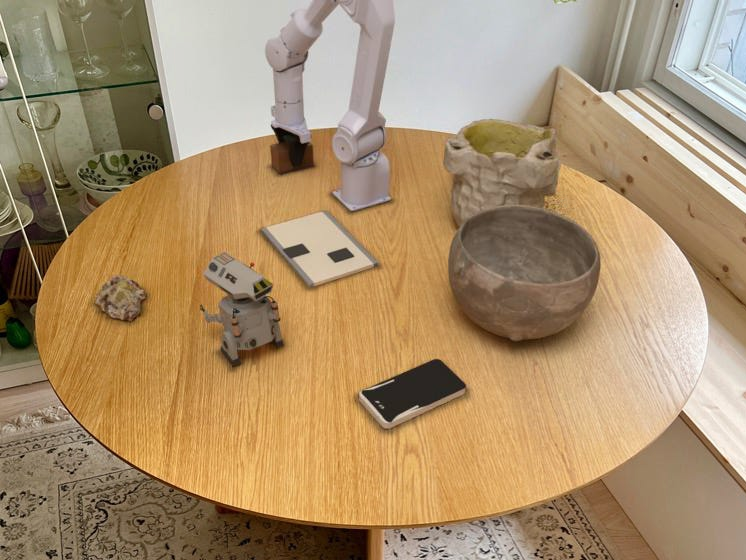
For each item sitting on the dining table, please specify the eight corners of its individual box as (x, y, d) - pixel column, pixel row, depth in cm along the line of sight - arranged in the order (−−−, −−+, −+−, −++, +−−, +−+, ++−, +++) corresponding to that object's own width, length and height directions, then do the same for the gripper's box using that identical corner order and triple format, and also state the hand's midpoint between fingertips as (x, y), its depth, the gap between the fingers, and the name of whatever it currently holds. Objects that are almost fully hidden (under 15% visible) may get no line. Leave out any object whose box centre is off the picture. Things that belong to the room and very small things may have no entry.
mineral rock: (85, 281, 126) (129, 260, 127) (98, 299, 130) (140, 278, 131) (98, 320, 120) (144, 298, 121) (111, 338, 123) (156, 316, 124)
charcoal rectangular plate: (346, 248, 139) (346, 247, 138) (354, 257, 137) (354, 255, 136) (327, 254, 137) (327, 253, 137) (334, 263, 135) (334, 261, 135)
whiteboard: (326, 213, 148) (326, 209, 148) (378, 266, 136) (378, 262, 136) (261, 232, 143) (260, 228, 142) (309, 288, 131) (309, 284, 130)
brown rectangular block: (305, 158, 164) (304, 136, 161) (313, 166, 162) (312, 144, 158) (271, 166, 161) (270, 144, 158) (279, 175, 159) (278, 153, 155)
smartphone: (468, 386, 113) (385, 424, 107) (467, 393, 114) (385, 431, 108) (438, 357, 117) (357, 392, 111) (437, 363, 118) (356, 398, 112)
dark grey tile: (302, 244, 139) (302, 243, 139) (309, 252, 137) (309, 251, 137) (282, 250, 137) (282, 248, 137) (290, 258, 136) (290, 257, 135)
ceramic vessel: (429, 140, 154) (521, 54, 137) (508, 223, 161) (604, 151, 144) (396, 191, 138) (495, 101, 122) (484, 281, 145) (590, 208, 128)
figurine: (253, 314, 125) (245, 237, 115) (288, 352, 119) (283, 275, 108) (203, 333, 121) (190, 256, 111) (236, 374, 115) (226, 296, 104)
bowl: (491, 382, 116) (505, 305, 105) (413, 294, 131) (419, 219, 120) (613, 337, 124) (637, 262, 113) (527, 260, 139) (542, 187, 129)
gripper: (255, 88, 154) (260, 150, 163) (286, 116, 145) (290, 180, 154) (286, 81, 156) (290, 143, 166) (319, 109, 148) (320, 172, 157)
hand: (292, 160), depth 160 cm, fingers closed on brown rectangular block, 4 cm apart
